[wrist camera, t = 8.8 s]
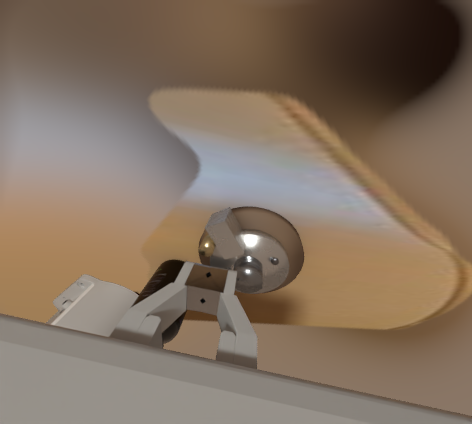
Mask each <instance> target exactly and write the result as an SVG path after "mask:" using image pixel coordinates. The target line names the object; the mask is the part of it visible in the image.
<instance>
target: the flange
mask: <svg viewBox="0 0 472 424" xmlns="http://www.w3.org/2000/svg"><path fill="white" fill-rule="evenodd" d="M205 229H206V231H207V232H208V234H209V236H210V237H211V239H212V240H213V242H214V243H215V245H216V246H215V249H214V252H213V254H212V255H211V256H210V266H213V267H218V268H223V269H228V270H234V271H237V278H236V285H235V291H238V292H243V293H249V294H257V293H264V292H268V291H271V290H273V289H275V288H277V287H278V286H280V285H281V284H282V283H283V282H284V281H285V279H286V278H287V276H288V273H289V261H288V255H287V252H286V250H285V248H284V246H283V245H282V244H281V242H280V241H279V240H277V239H276V238H275V237H273V236H272V235H270V234H268V233H266V232H263V231H260V230H255V229H241V227H240V225H239V223H238V221H237V219H236V217H235V216H234V214H233V212H232V210H231V208H230V207H229V208H227V209H224V210H222V211H219V212H216V213H214V214H212V215H211V217H210V219H209V221H208V223H207V225H206V227H205Z"/></svg>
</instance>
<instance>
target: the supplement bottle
mask: <svg viewBox="0 0 472 424" xmlns="http://www.w3.org/2000/svg"><path fill="white" fill-rule="evenodd" d="M184 263H185V262H183V261H180V260H168V261H165V262H164V263H162V264H161V265H160V266H159V268H158V269H157V270H156V272H155V273H154V275H153V276H152V277H151V279H150V280H149V282H148V283H147V285H146V286H145V287H144V289H143V290H142V292H141V293H140V294H139V296H138V297H137V299H136V300H135V301H134V303H133V304H132V306H131V307H133V306H134V305H136V304H138V303H139V302H141V301H143V300H144V299H146V298H147V297H149V296H151V295H152V294H154V293H155V292H157V291H159V290H160V289H162V288H164V287H165V286H167V285H168V284H170V283H174V282H175V280H176V278H177V277H178V275H179V273H180V271H181V269H182V267H183V265H184ZM131 307H130V308H131ZM186 312H187V309H186V311H185V312H184V313H183V314H182V315H181V316H180V317H178V318H177V319H176V320H175V321H174V322H173V323H172V324H171V325H170V326H169V327H168V328H167V329H166V330H164V331H163V332H162V345H163V344H164V343H167V342H169V341H171V340H172V339H173V338H174V337H175V336H176V335H177V333H178V331H179V329H180V326H181V324H182V321H183V319H184V316H185V314H186Z"/></svg>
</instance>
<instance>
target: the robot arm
mask: <svg viewBox="0 0 472 424" xmlns="http://www.w3.org/2000/svg"><path fill="white" fill-rule="evenodd" d="M236 278H237V271H234V270H228V269H223V268H218V267H213V266H207V265H203V264H198V263H193V262H189V261H186V262H185V263H184V265H183V267H182V269H181V271H180V273H179V275H178V277H177V278H176V280H175V282H174V283H170V284H168V285H167V286H165V287H164V288H162V289H160V290H159V291H157V292H155V293H154V294H152V295H151V296H149V297H147V298H146V299H144V300H143V301H141V302H139V303H138V304H136V305H134V306H133V307H131V306H132V304H133V303H134V301H135V300H136V299H137V297H138V296H139V295H138V294H136V293H135V292H133V291H132V290H130V289H128V288H126V287H123V286H121V285H118V284H115V283H111V282H106V281H102V280H99V279H97V278H95V277H93V276H90V275H86V274H84V275H82V276H81V277H80V278H79V279H78V280H76V281H75V282H74V283H73V284H72V285H70V286H69V287H68V288H67V289H66V290H65V291H63V292H62V293H61V294H60V295H59V296H58V297H57V298H56V299H55V300H54V301H53V304H54V305H55V307H56V308H57V309H58V310H59V311H58V312H57V313H56V314H55V315H54V316H53V317H52V318H51V319H50V320H49V321H48V322H46V323H42V322H37V321H33V320H28V319H23V318H19V317H14V316H9V315H5V314H0V424H472V416H469V415H465V414H460V413H455V412H450V411H446V410H442V409H437V408H432V407H428V406H423V405H418V404H414V403H409V402H405V401H400V400H396V399H391V398H386V397H382V396H377V395H373V394H368V393H363V392H359V391H354V390H350V389H345V388H340V387H336V386H331V385H327V384H322V383H317V382H313V381H308V380H303V379H299V378H294V377H290V376H285V375H281V374H276V373H271V372H267V371H262V370H257V335H256V333H255V331H254V330H253V327H252V325H251V323H250V321H249V319H248V317H247V315H246V314H245V312H244V310H243V308H242V306H241V304H240V302H239V300H238V298H237V296H235V295H234V292H235V285H236ZM130 307H131V308H130ZM186 309H188V310H193V311H199V312H204V313H208V314H212V315H216V316H217V319H218V322H219V325H220V329H221V332H222V333H221V335H220V340H219V346H218V350H217V355H216V360H212V359H207V358H202V357H198V356H193V355H189V354H184V353H180V352H175V351H170V350H166V349H163V345H162V332H163V331H164V330H166V329H167V328H168V327H169V326H170V325H171V324H172V323H173V322H174V321H175V320H176V319H177V318H178V317H180V316H181V315H182V314H183V313H184V312H185V311H186Z"/></svg>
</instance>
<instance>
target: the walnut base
mask: <svg viewBox="0 0 472 424" xmlns="http://www.w3.org/2000/svg"><path fill="white" fill-rule="evenodd" d="M231 210H232V212H233V214H234V216H235V217H236V219H237V221H238V223H239V225H240V227H241V229H255V230H260V231H263V232H266V233H268V234H270V235H272V236H273V237H275V238H276V239H277V240H279V241H280V242H281V244H282V245H283V246H284V248H285V250H286V252H287V255H288V261H289V273H288V276H287V278H286V279H285V281H284V282H283V283H282V284H281V285H280V286H278V287H277V288H275V289H273V290H271V291H275V290H278V289H280V288H282V287H284V286H286V285H288V284H289V283H290V282H292V281H293V280H294V279H295V278H296V276H297V275H298V274H299V272H300V271H301V268H302V266H303V262H304V251H303V246H302V243H301V240H300V237H299V234H298V233H297V231H296V229H295V228H294V227H293V225H292V224H291V223H290V222H289V221H288V220H286V219H285V218H284V217H282V216H281V215H279V214H277V213H275V212H273V211H270V210H267V209H263V208H258V207H238V208H233V209H231ZM215 246H216V245H215V243H214V242H213V240H212V239H211V237H210V236H209V234H208V232H207V231H206V229H205V231H204V233H203V235H202V237H201V239H200V242H199V249H198V250H199V257H200V260H201V263H202V264H203V265H207V266H210V256H211V255H212V254H213V252H214V249H215ZM271 291H268V292H271ZM264 293H266V292H264Z"/></svg>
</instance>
